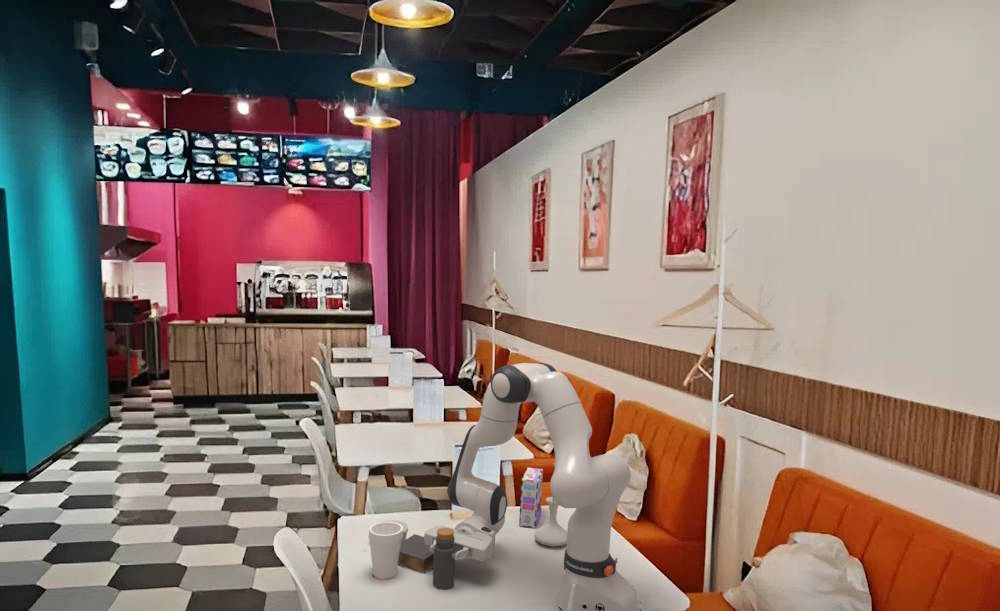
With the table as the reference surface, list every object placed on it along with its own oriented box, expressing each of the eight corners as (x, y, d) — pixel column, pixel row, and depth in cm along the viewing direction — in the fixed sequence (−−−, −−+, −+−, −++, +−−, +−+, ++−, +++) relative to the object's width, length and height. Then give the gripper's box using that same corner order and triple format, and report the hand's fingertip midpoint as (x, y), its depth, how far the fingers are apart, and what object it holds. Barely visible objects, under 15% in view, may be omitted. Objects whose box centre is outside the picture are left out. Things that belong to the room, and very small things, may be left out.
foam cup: (368, 583, 174) (370, 536, 173) (366, 567, 182) (367, 523, 182) (403, 579, 176) (405, 534, 175) (399, 564, 185) (401, 520, 184)
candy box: (535, 529, 214) (538, 481, 212) (518, 526, 215) (520, 479, 214) (541, 513, 227) (543, 468, 226) (525, 511, 228) (527, 466, 227)
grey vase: (568, 551, 198) (572, 472, 196) (532, 547, 199) (535, 469, 198) (570, 534, 211) (574, 460, 209) (536, 530, 212) (539, 457, 211)
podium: (446, 556, 191) (447, 543, 191) (423, 573, 180) (424, 559, 180) (414, 546, 196) (414, 534, 196) (389, 562, 186) (390, 548, 186)
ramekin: (374, 535, 204) (374, 519, 203) (409, 535, 204) (409, 519, 204) (368, 551, 193) (369, 534, 192) (405, 551, 193) (406, 535, 193)
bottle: (428, 585, 173) (430, 532, 172) (440, 576, 179) (442, 524, 178) (446, 591, 171) (448, 537, 170) (458, 582, 176) (460, 529, 175)
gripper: (439, 516, 190) (412, 533, 178) (500, 533, 181) (475, 551, 168) (439, 537, 191) (411, 555, 178) (499, 554, 181) (474, 574, 169)
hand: (443, 553), depth 173 cm, fingers closed on bottle, 6 cm apart
